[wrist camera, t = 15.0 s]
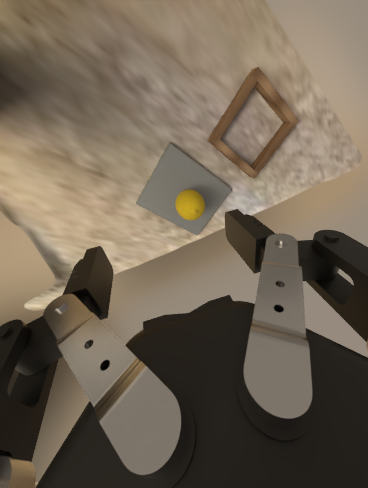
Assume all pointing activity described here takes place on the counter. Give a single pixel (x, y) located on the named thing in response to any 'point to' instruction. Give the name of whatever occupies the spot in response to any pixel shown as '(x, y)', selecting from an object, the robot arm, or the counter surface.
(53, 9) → the counter surface
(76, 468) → the robot arm
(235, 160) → the walnut collar
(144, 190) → the grey rectangular plate
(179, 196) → the lemon
